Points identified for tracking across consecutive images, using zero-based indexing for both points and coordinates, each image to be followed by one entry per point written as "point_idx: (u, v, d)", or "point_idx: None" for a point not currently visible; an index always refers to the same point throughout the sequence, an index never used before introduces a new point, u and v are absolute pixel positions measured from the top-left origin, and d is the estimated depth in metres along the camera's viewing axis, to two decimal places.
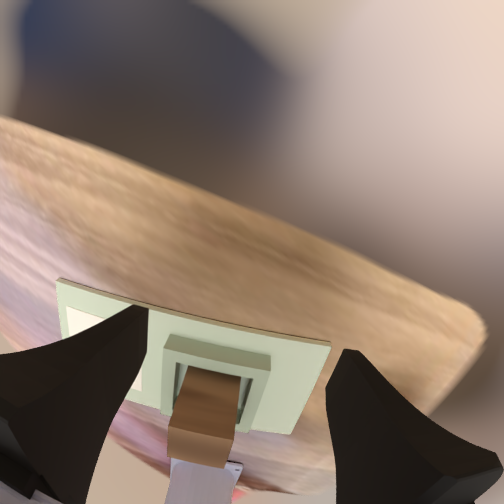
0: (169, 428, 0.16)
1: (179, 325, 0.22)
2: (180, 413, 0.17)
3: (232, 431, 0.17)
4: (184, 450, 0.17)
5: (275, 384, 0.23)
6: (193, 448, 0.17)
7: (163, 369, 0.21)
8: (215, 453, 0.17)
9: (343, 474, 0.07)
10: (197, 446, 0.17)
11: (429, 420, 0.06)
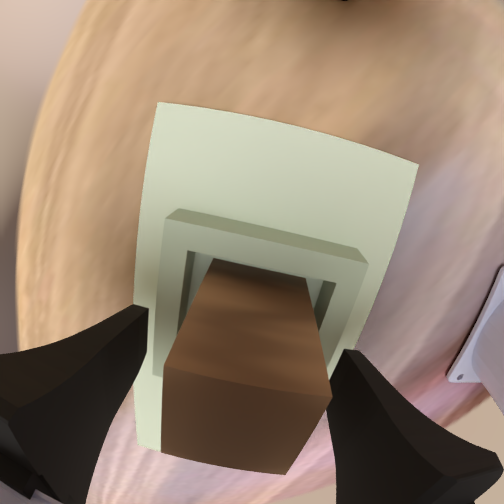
0: (168, 453, 0.08)
1: None
2: None
3: None
4: (246, 452, 0.08)
5: (252, 196, 0.12)
6: (230, 438, 0.07)
7: None
8: (242, 408, 0.07)
9: (343, 474, 0.07)
10: (216, 432, 0.07)
11: (429, 419, 0.06)
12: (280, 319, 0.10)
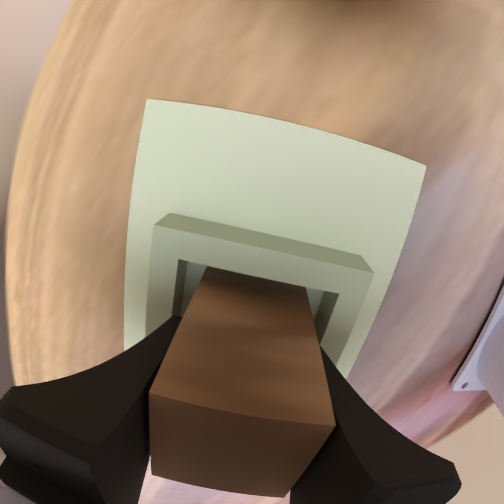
0: (159, 475, 0.07)
1: None
2: None
3: (157, 375, 0.06)
4: (242, 477, 0.07)
5: (248, 200, 0.11)
6: (225, 465, 0.06)
7: None
8: (236, 436, 0.06)
9: None
10: (209, 458, 0.06)
11: (383, 421, 0.06)
12: (278, 336, 0.09)
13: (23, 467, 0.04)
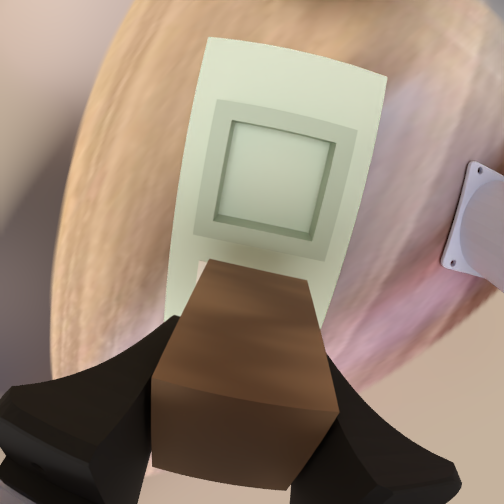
0: (160, 467, 0.07)
1: (186, 213, 0.19)
2: None
3: None
4: (244, 468, 0.07)
5: (274, 94, 0.16)
6: (227, 455, 0.07)
7: (229, 239, 0.17)
8: (240, 424, 0.06)
9: None
10: (211, 448, 0.06)
11: (384, 421, 0.06)
12: (281, 325, 0.09)
13: (23, 467, 0.04)
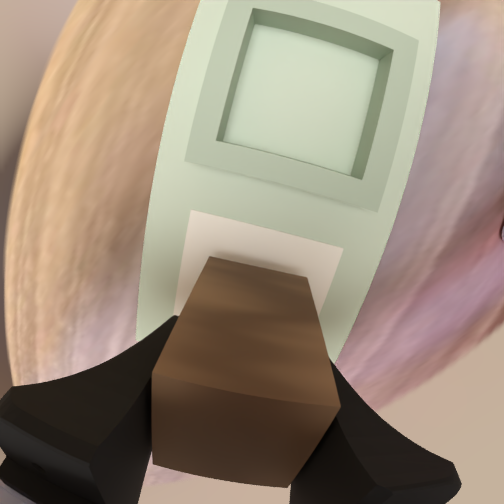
0: (161, 465, 0.07)
1: (177, 140, 0.13)
2: None
3: None
4: (245, 465, 0.07)
5: None
6: (228, 451, 0.07)
7: (238, 170, 0.11)
8: (240, 419, 0.06)
9: None
10: (212, 444, 0.06)
11: (383, 420, 0.06)
12: (281, 321, 0.09)
13: (23, 467, 0.04)
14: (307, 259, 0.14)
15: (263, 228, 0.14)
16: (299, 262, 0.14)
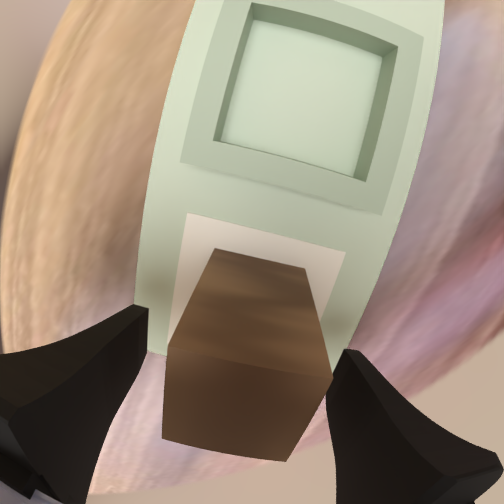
0: (169, 439, 0.08)
1: (173, 140, 0.12)
2: None
3: None
4: (247, 436, 0.08)
5: None
6: (232, 422, 0.08)
7: (236, 171, 0.11)
8: (244, 389, 0.07)
9: (343, 474, 0.07)
10: (218, 415, 0.08)
11: (429, 420, 0.06)
12: (281, 306, 0.10)
13: None
14: (307, 264, 0.13)
15: (263, 231, 0.13)
16: None
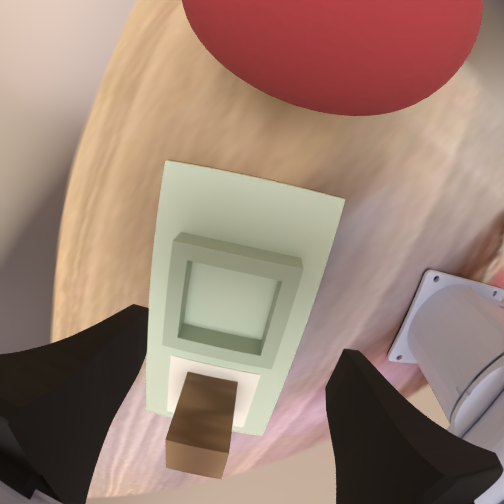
0: (169, 467, 0.17)
1: (157, 320, 0.21)
2: None
3: None
4: (201, 468, 0.17)
5: (228, 224, 0.19)
6: (194, 463, 0.17)
7: (191, 351, 0.20)
8: (196, 453, 0.16)
9: (343, 474, 0.07)
10: (188, 460, 0.17)
11: (429, 420, 0.06)
12: (216, 414, 0.19)
13: None
14: (239, 380, 0.23)
15: (212, 365, 0.22)
16: None
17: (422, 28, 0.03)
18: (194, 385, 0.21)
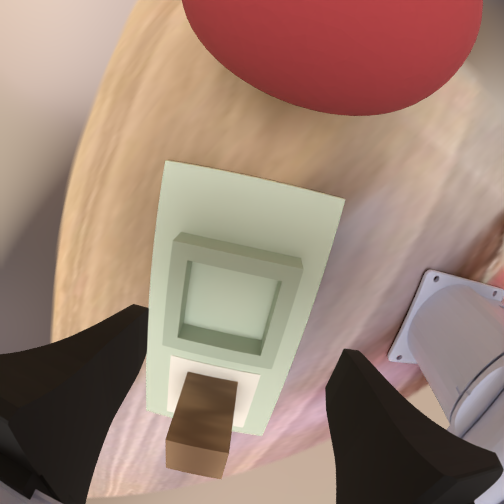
0: (169, 467, 0.17)
1: (157, 320, 0.21)
2: None
3: None
4: (201, 468, 0.17)
5: (228, 224, 0.19)
6: (194, 463, 0.17)
7: (191, 351, 0.20)
8: (196, 453, 0.16)
9: (343, 474, 0.07)
10: (188, 460, 0.17)
11: (429, 420, 0.06)
12: (216, 414, 0.19)
13: None
14: (239, 380, 0.23)
15: (212, 365, 0.22)
16: None
17: (421, 27, 0.03)
18: (194, 385, 0.21)
